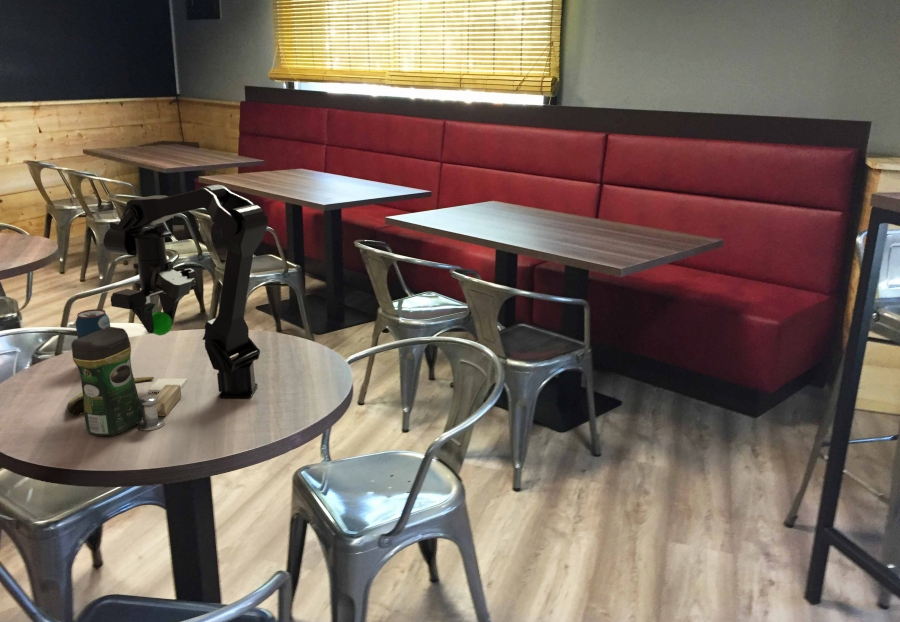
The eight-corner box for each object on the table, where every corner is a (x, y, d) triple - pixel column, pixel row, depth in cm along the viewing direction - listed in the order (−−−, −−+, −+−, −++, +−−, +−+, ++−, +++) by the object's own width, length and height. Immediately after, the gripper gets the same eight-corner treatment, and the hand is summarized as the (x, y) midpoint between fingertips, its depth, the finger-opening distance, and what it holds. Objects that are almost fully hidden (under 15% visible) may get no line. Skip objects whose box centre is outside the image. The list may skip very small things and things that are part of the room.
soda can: (121, 361, 169) (114, 311, 166) (93, 371, 164) (85, 319, 160) (103, 355, 173) (96, 306, 170) (75, 364, 168) (67, 314, 164)
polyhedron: (157, 329, 161) (155, 308, 160) (177, 331, 160) (175, 310, 159) (143, 337, 156) (141, 315, 155) (164, 338, 155) (162, 316, 154)
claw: (101, 420, 141) (99, 403, 140) (51, 418, 142) (49, 401, 141) (153, 382, 160) (152, 367, 159) (109, 381, 161) (107, 366, 160)
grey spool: (168, 419, 141) (165, 394, 139) (159, 430, 136) (156, 404, 135) (143, 419, 141) (139, 394, 139) (133, 430, 136) (129, 404, 135)
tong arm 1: (174, 396, 150) (173, 384, 150) (153, 420, 140) (152, 407, 139) (167, 396, 150) (166, 384, 150) (146, 420, 140) (144, 407, 139)
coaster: (187, 381, 158) (186, 378, 158) (177, 392, 153) (177, 389, 153) (159, 381, 158) (158, 378, 158) (148, 392, 153) (148, 390, 152)
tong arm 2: (181, 396, 150) (180, 384, 150) (162, 420, 140) (160, 407, 139) (174, 396, 150) (172, 384, 150) (154, 420, 140) (152, 407, 139)
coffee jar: (119, 412, 143) (104, 321, 138) (151, 418, 140) (136, 325, 135) (78, 434, 135) (59, 337, 129) (110, 441, 132) (93, 342, 126)
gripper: (145, 272, 142) (155, 348, 147) (213, 252, 158) (220, 322, 163) (103, 266, 146) (114, 340, 151) (174, 247, 163) (182, 315, 167)
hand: (160, 329), depth 158 cm, fingers closed on polyhedron, 5 cm apart
